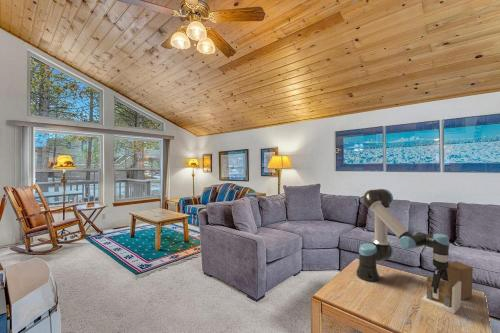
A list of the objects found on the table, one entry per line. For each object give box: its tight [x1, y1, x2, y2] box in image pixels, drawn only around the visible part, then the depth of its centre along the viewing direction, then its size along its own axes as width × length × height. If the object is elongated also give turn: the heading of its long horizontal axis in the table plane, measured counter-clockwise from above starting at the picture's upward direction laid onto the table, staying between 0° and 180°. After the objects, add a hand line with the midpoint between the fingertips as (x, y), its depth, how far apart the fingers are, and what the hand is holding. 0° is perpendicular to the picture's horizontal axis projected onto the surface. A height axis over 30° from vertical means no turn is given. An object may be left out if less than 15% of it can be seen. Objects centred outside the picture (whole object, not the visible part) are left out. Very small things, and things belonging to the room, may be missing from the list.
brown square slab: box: [426, 275, 454, 307], centre depth 147 cm, size 12×4×12 cm, turn 35°
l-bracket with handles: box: [420, 281, 462, 315], centre depth 147 cm, size 16×12×15 cm
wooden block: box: [447, 260, 474, 301], centre depth 155 cm, size 10×10×20 cm
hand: (439, 294), depth 147 cm, fingers open, 13 cm apart
